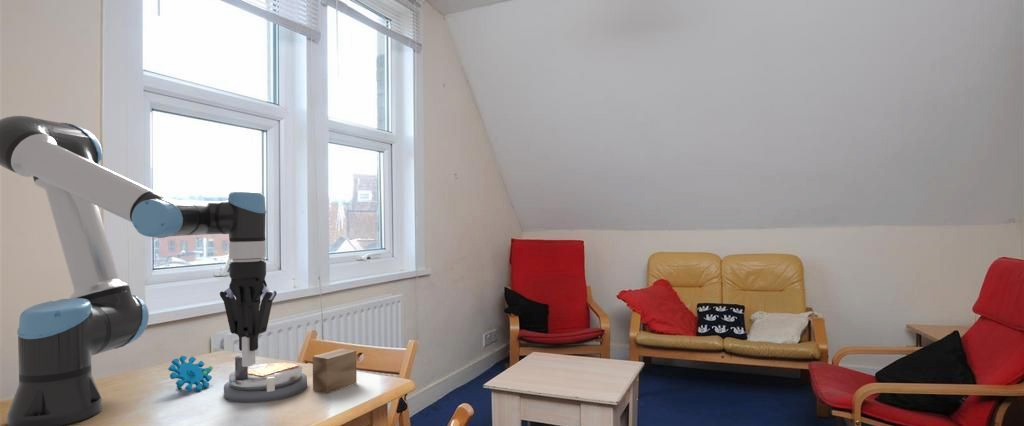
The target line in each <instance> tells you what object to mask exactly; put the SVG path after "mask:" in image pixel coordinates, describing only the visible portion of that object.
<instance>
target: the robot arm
mask: <svg viewBox="0 0 1024 426" xmlns="http://www.w3.org/2000/svg"><path fill="white" fill-rule="evenodd" d="M101 160H103V150H102V145H101V143H100V141H99V140H98V138H97V137H96V135H94V133H92V132H91V131H89V130H88V129H86V128H84V127H81V126H77V125H75V124H72V123H69V122H58V121H51V120H46V119H41V118H36V117H32V116H26V115H12V116H6V117H4V118H1V119H0V166H1V167H3V168H4V169H7V170H9V171H11V172H12V173H16V174H17V175H19V176H21V177H25V178H29V177H32V178H33V182H34V185H35V186H36V187H39V188H41V189H43V190H44V191H45V193H46V196H47V199H48V203H49V207H50V210H51V213H52V214H51V215H52V218H53V221H54V224H55V228H56V231H57V234H58V238H59V242H60V245H61V248H62V253H63V256H64V259H65V264H66V266H67V270H68V273H69V276H70V277H69V278H70V279H71V284H72V288H73V293H72V294H71V295H70V297H68V298H61V299H58V300H50V301H46V302H41V303H38V304H34V305H32V306H30V307H28V308H26V309H24V310H23V311H22V312H21V313H20V315H19V319H18V321H19V322H18V328H17V333H16V334H17V338H18V340H17V341H18V346H17V347H18V386H17V389H16V392H15V394H14V396H13V399H12V402H11V404H10V406H9V409H8V412H7V416H6V418H7V419H6V420H7V421H6V425H7V426H65V425H70V424H73V423H78V422H80V421H83V420H87V419H88V418H92V417H94V416H95V415H97V414H98V413H100V412H101V411H102V409H103V402H102V401H103V399H102V396H101V394H100V391H99V389H98V387H97V384H96V382H95V379H94V377H93V374H92V356H95V355H98V354H101V353H102V354H103V353H105V352H108V351H111V350H115V349H119V348H124V347H125V346H127V345H129V344H131V343H133V342H135V341H136V340H138V339H139V338H140V337H142V335H143V334H144V332H145V330H146V329H147V327H148V323H149V320H150V319H149V317H150V314H149V309H148V306H147V304H146V303H145V301H144V300H143V299H142V298H140V297H139V296H137V295H134V294H133V293H132V291H131V288H130V285H129V283H127V282H125V281H122V280H121V279H120V278H119V275H118V271H117V268H116V267H117V266H116V264H115V261H114V257H113V254H112V250H111V247H110V243H109V239H108V236H107V233H106V229H105V226H104V222H103V219H102V216H101V211H100V208H101V209H103V210H105V211H107V212H109V213H111V214H113V215H116V216H117V217H120V218H122V219H124V220H126V221H128V222H129V223H132V225H133V227H134V228H135V230H136V231H137V233H139V234H140V235H143V236H145V237H150V238H157V239H162V238H163V239H164V238H170V237H182V236H183V237H184V236H198V235H199V236H200V235H203V236H204V235H228V258H229V260H232V261H230V262H229V264H228V265H229V268H228V270H229V272H228V273H229V274H228V275H229V278H230V283H229V285H228V288H226V289H225V290H222V291H220V292H219V296H220V298H221V300H222V301H223V304H224V309H225V314H226V318H227V323H228V326H229V330H230V331H229V332H230V333H231V334H233V335H234V334H235V335H236V336H238V349H239V351H241V355H242V366H243V367H249V366H253V365H256V351H258V349H259V336H260V335H261V334H264V333H266V332H267V329H268V325H269V320H270V315H271V310H272V305H273V301H274V300H275V298H276V296H277V291H276V290H272V289H270V288H268V284H267V282H266V276H267V262H266V260H264V259H265V258H266V257H267V249H266V248H267V242H266V241H267V239H266V219H267V218H266V214H267V209H266V197H265V195H264V193H262V192H259V191H231V192H229V194H228V199H227V200H222V201H220V200H217V201H215V200H213V201H212V200H180V199H179V200H178V199H172V198H169V197H167V196H165V195H163V194H161V193H159V192H157V191H155V190H153V189H151V188H148V187H147V186H144V185H142V184H140V183H138V182H136V181H133V180H132V179H130V178H127V177H126V176H123V175H121V174H119V173H117V172H116V171H115V172H114V171H113V170H110V169H108V168H106V167H104V166H102V165H101V163H100V162H101ZM261 298H262V299H261Z"/></svg>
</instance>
